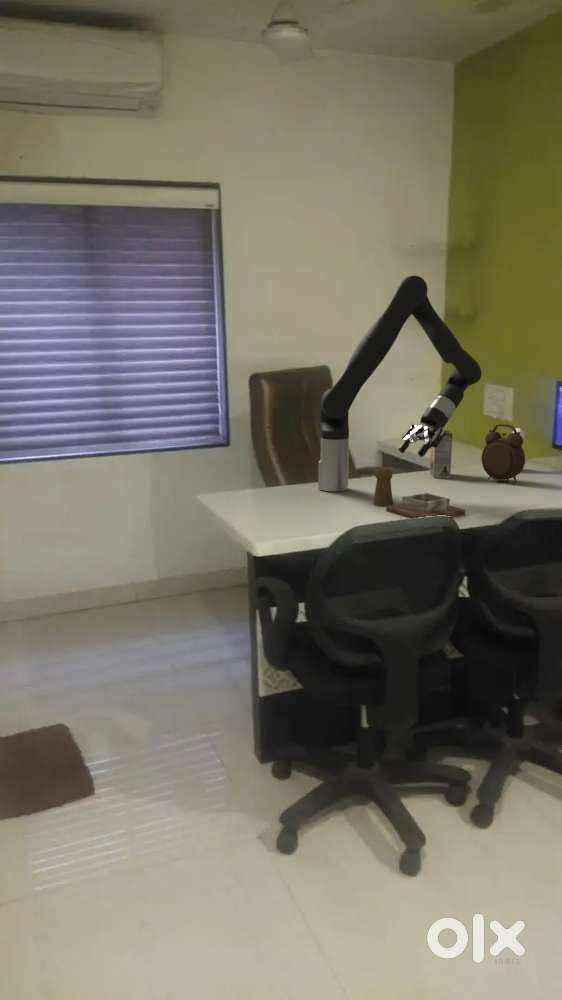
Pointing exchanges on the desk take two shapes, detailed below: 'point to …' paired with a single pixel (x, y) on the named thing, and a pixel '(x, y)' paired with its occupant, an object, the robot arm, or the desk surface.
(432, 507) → the mount board
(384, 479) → the cork
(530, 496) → the desk surface
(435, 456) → the coffee box
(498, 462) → the alarm clock
